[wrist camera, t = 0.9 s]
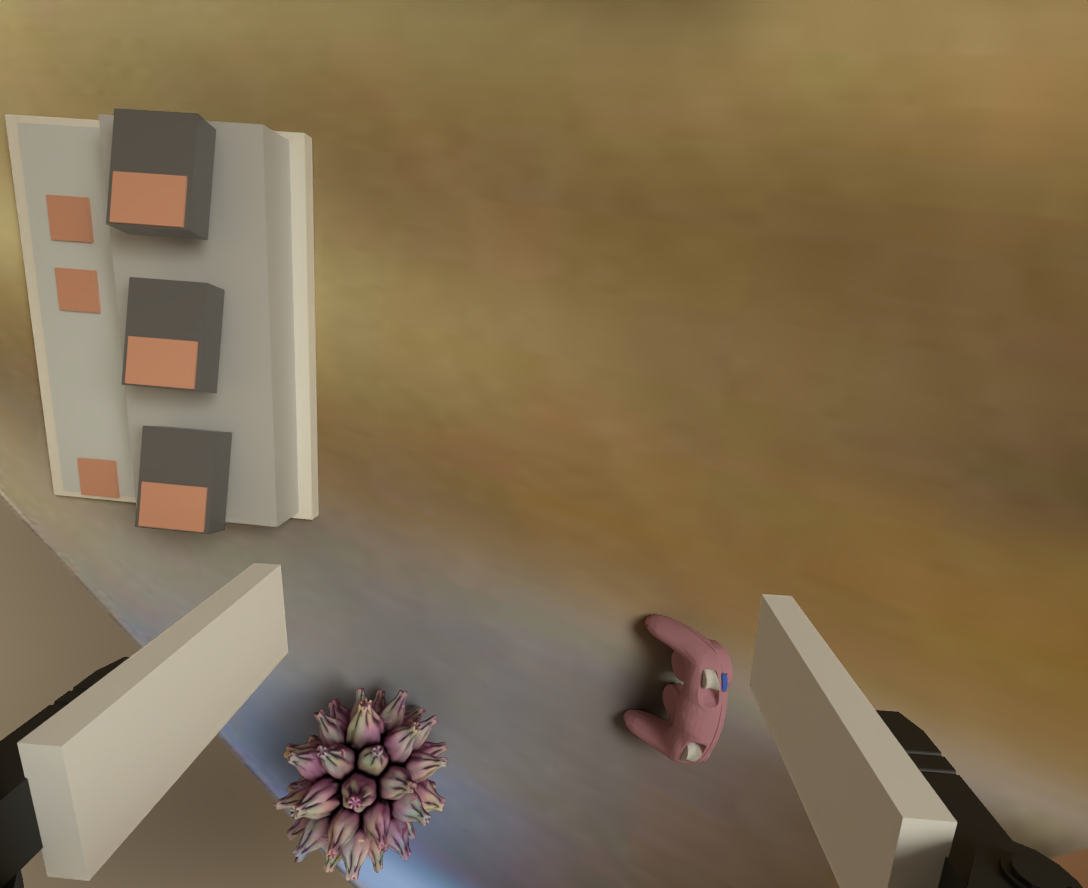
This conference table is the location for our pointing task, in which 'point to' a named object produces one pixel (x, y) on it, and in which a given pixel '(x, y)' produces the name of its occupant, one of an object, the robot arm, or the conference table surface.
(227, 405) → the switch panel
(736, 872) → the conference table surface
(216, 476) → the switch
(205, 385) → the middle switch
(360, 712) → the flower
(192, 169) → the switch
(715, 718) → the video game controller
